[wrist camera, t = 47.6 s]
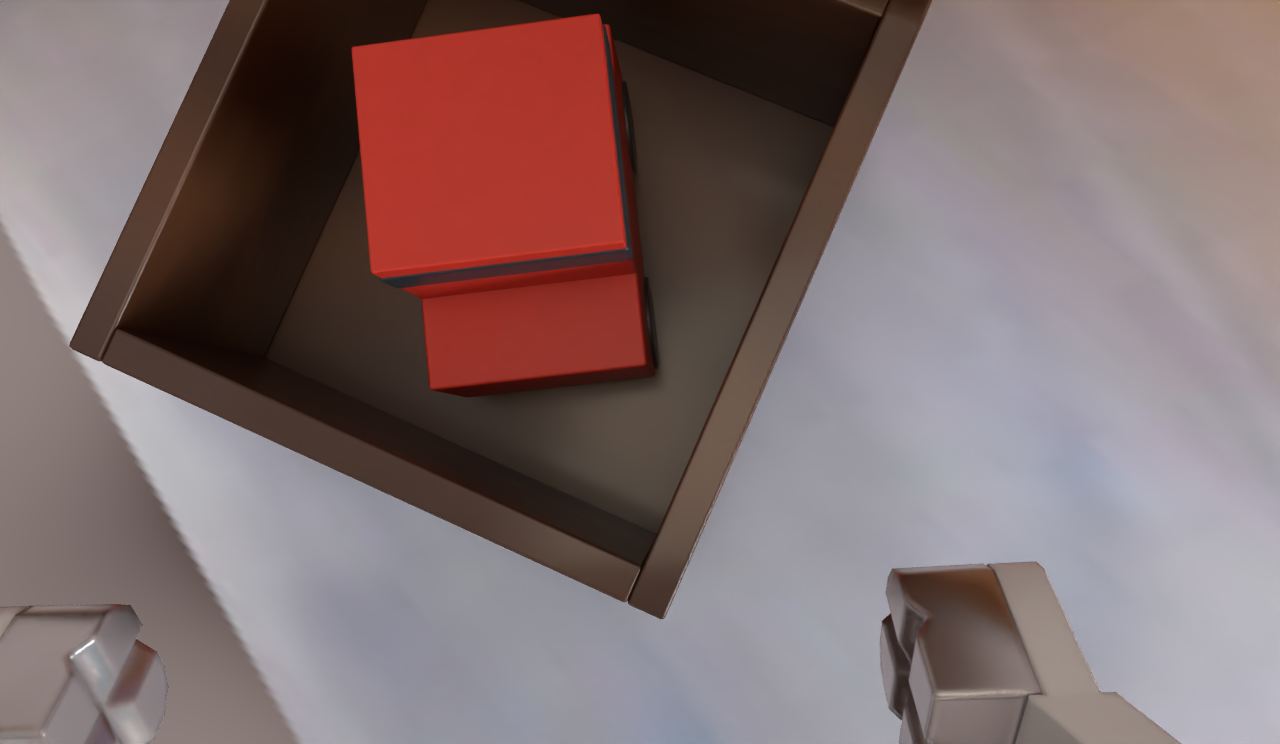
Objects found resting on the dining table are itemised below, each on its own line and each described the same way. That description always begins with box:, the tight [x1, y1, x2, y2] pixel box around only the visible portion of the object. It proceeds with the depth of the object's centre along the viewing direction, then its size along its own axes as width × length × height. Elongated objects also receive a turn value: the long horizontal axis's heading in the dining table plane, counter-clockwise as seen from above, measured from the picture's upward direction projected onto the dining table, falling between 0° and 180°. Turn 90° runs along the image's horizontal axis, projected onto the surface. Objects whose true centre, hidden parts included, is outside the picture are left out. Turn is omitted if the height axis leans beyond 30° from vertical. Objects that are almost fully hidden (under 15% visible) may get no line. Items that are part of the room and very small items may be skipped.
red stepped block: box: [352, 14, 659, 398], centre depth 23 cm, size 8×5×8 cm, turn 6°
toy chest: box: [70, 0, 932, 619], centre depth 24 cm, size 14×14×8 cm
